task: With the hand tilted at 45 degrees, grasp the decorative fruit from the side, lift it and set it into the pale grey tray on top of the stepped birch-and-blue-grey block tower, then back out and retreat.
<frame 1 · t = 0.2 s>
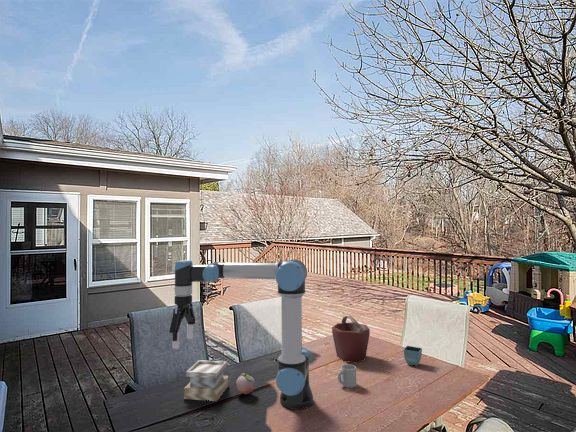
hand: (183, 343, 153), 28 cm above the table, tool pointing down, fingers open, 13 cm apart
bucket: (350, 358, 212), on the table
decorative fruit: (245, 395, 163), on the table
block tower: (207, 392, 166), on the table
cup: (346, 385, 173), on the table
flower pot: (413, 364, 201), on the table
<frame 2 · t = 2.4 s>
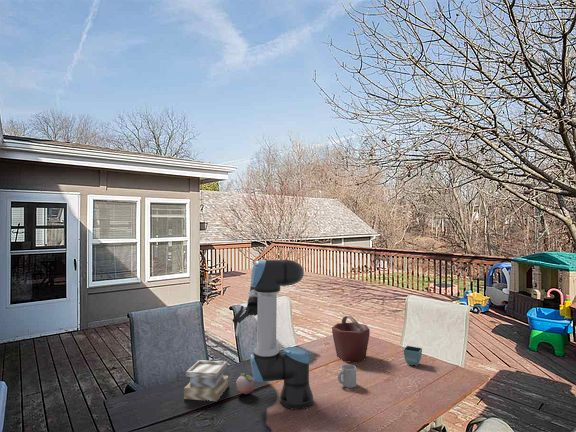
hand: (249, 335, 176), 25 cm above the table, tool tilted 45°, fingers open, 13 cm apart
nothing on the table moved.
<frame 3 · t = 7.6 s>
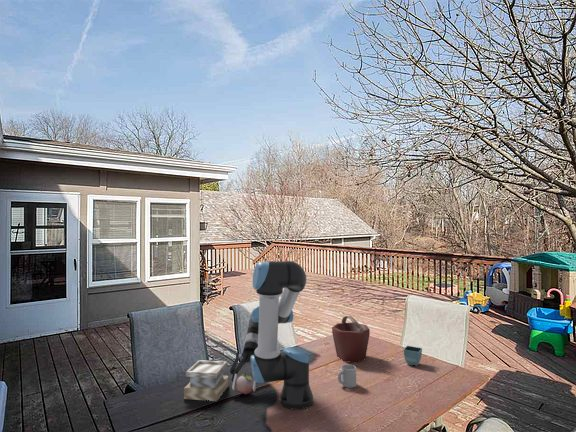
hand: (243, 389, 160), 4 cm above the table, tool tilted 45°, fingers closed on decorative fruit, 9 cm apart
decorative fruit: (244, 395, 163), on the table, touching gripper
everything else where it was.
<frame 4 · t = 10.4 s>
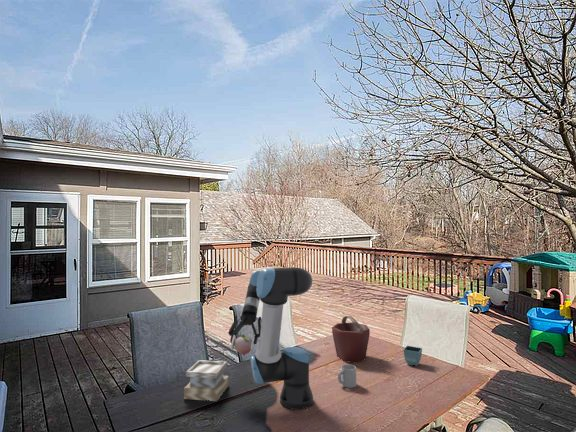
hand: (241, 349, 162), 22 cm above the table, tool tilted 45°, fingers closed on decorative fruit, 9 cm apart
decorative fruit: (243, 355, 165), point 18 cm above the table, touching gripper
everything else where it was.
when the fingers open (16 cm above the table, at t = 13.6 s): decorative fruit drops 1 cm, resting on block tower.
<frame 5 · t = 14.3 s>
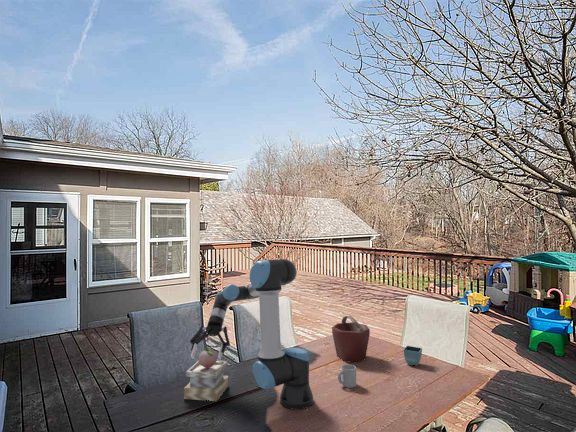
hand: (205, 358, 165), 17 cm above the table, tool tilted 45°, fingers open, 13 cm apart
decorative fruit: (207, 369, 167), point 11 cm above the table, touching block tower
everything else where it was.
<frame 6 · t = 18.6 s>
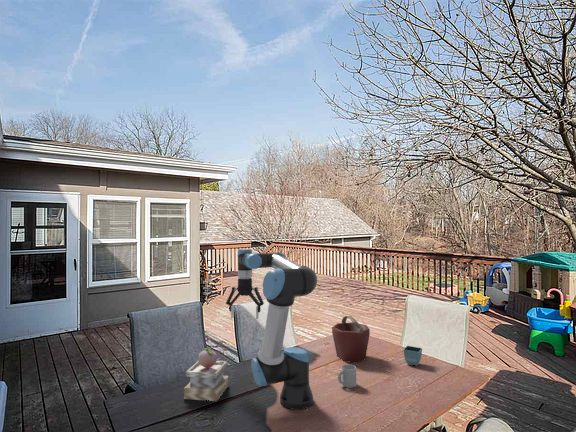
hand: (244, 318, 183), 32 cm above the table, tool pointing down, fingers open, 13 cm apart
nothing on the table moved.
at the end: decorative fruit inside the target area on the block tower (0.1 cm from its centre), point 10.8 cm above the block tower's base; the gripper is holding nothing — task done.
